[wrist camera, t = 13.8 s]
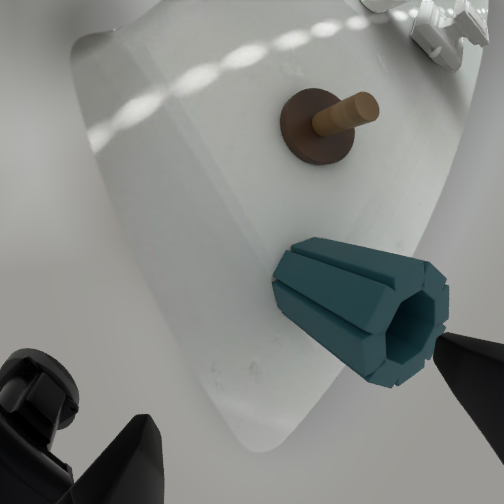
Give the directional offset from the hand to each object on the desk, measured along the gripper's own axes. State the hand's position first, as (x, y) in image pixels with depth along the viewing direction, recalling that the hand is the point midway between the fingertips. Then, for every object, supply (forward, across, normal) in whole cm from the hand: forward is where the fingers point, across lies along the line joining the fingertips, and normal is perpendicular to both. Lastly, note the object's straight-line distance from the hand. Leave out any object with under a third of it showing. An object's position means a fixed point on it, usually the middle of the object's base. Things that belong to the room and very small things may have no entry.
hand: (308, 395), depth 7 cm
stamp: (+18, -24, -19) cm, 36 cm away
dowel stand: (+14, -7, -8) cm, 18 cm away
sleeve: (+13, -4, +2) cm, 14 cm away
